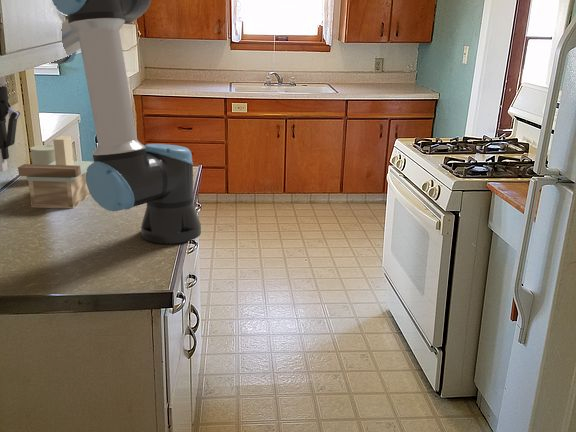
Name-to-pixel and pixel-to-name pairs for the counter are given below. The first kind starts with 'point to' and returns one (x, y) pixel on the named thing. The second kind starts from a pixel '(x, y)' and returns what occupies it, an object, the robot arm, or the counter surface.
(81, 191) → the light wood open box
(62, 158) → the lid
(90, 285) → the counter surface
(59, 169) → the brown rectangular block
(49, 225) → the counter surface
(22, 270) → the counter surface
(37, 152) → the can
